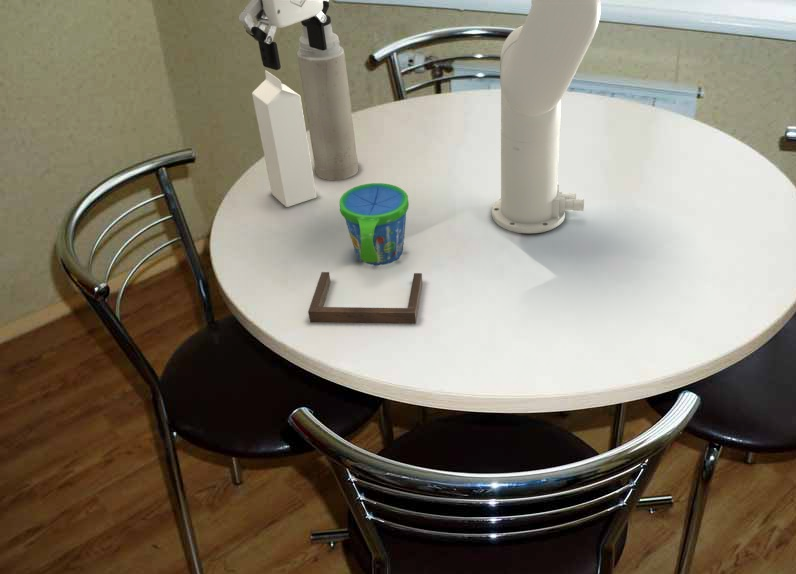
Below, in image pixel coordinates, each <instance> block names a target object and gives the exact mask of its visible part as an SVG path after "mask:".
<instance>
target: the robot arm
mask: <svg viewBox="0 0 796 574" xmlns="http://www.w3.org/2000/svg"><path fill="white" fill-rule="evenodd" d="M329 1H330V0H250V1H249V3H248V4H247V5H246V6H245V8H244V9H243V10H242V11H241V12H240V14H239V15H238V21H239V22H240V24H241V25H242V26H243V27H244V29H245V32H246V34H248V35H249V36H250V37H252V38H253V40H254V41H257V42H258V48H259V53H260V59H261V63H262V65H263V67H264V68H267V69H271V70H273V71H278V70H280V69H281V67H282V66H281V60H280V55H279V50H278V49H279V48H278V43H277V42H276V41H273V40H274V38H275V35H276V32H277V29H278V28H280V29H281V28H286V27H289V26H292V25H294V24H297V23H300V22H301V21H303V20H305V19H308V18H309V20H307V21H306V27H307V34H308V40H309V46H310V47H312V48H315V49H319V50H323V51H324V50H326V49H327V46H326V39H325V31H324V24H323V23H324V22H325V21H326V16H325V15H327V14H328V10H329V9H330V2H329ZM530 2H531V5H530V9H529V12H528V14H527V16H526V18H525V21H524V23H523V25H520V26H518V27H516V28H514V30H512V31H511V32H510V33H509V34H508V36H507V37H506V38H505V40H504V42H503V45H502V48H501V52H500V58H499V59H500V60H499V84H500V198H499V199H498V200H496V201H495V203H494V204H493V205H492V208H491V216H492V220H493V221H494V223H496V224H497V226H498V227H499V226H500V228H503V229H505V230H507V231H509V232H514V233H517V234H518V233H520V234H539V233H540V234H541V233H545V232H549V231H551V230H554V229H556V228H557V227H559V226H560V225H561V224H562V223H563V222H564V220H565V217H566V211H575V212H576V211H577V212H579V211H580V212H581V211H584V207H585V200H584V199H583V198H577V193H563V191H560V187H559V186H560V185H559V183H558V182H559V181H558V180H559V177H558V176H559V159H560V139H561V138H560V137H561V123H562V122H561V120H562V99H563V98H564V96H565V94H566V92H567V91H568V89H569V87H570V85H571V83H572V81H573V79H574V78H575V75H576V73H577V71H578V69H579V67H580V65H581V63H582V61H583V60H584V58H585V55H586V54H587V51H588V49H589V47H590V45H591V43H592V41H593V40H594V37H595V34H596V32H597V30H598V26H599V23H600V19H601V14H602V2H601V0H531V1H530ZM255 20H256V22H257V23H255Z"/></svg>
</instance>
